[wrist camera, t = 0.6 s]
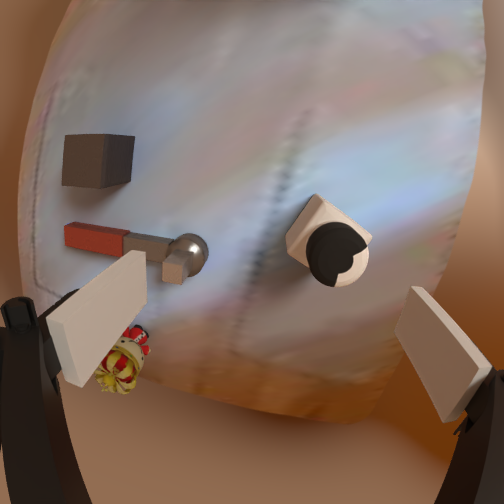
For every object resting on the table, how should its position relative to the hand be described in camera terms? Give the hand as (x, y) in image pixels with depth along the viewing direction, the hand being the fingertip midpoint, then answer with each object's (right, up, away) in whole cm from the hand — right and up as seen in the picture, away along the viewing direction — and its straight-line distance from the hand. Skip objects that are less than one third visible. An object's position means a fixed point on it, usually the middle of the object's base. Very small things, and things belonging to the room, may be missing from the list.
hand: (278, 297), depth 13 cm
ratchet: (-19, +4, +27) cm, 33 cm away
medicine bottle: (+8, +5, +24) cm, 26 cm away
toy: (-20, -11, +32) cm, 39 cm away
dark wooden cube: (-21, +15, +23) cm, 35 cm away
